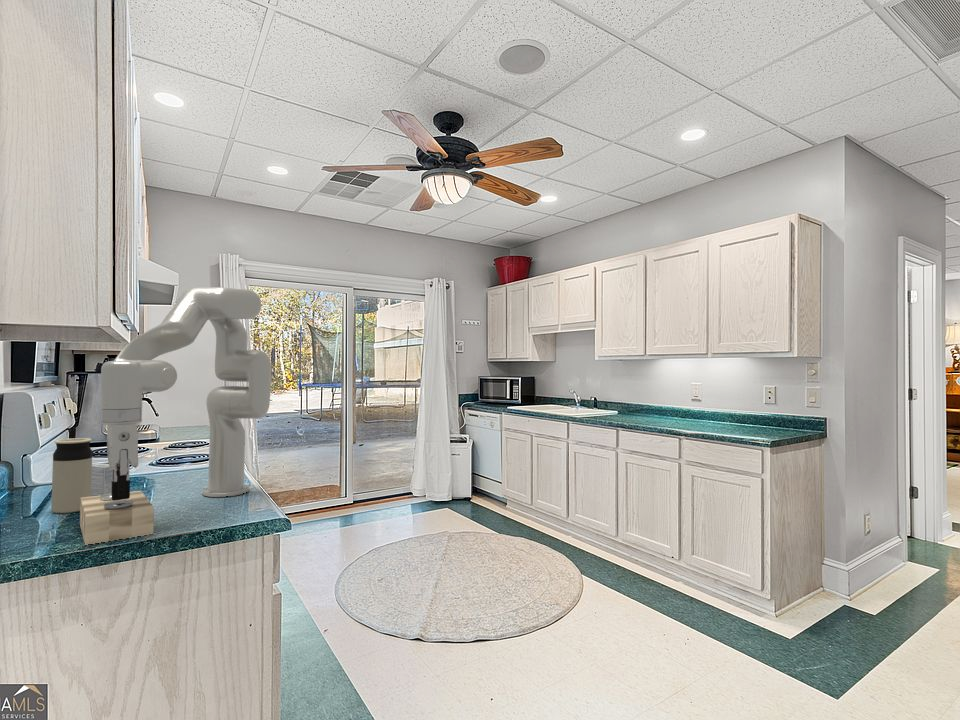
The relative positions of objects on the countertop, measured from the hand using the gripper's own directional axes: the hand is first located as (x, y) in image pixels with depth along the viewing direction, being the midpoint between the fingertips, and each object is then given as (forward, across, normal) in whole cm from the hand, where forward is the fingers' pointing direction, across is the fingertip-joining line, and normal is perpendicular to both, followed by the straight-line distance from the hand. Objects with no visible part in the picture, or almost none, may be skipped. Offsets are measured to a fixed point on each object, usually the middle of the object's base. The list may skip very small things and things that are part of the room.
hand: (120, 498), depth 115 cm
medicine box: (+9, +46, 0) cm, 46 cm away
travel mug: (+8, +30, +8) cm, 32 cm away
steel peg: (+8, +10, 0) cm, 12 cm away
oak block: (+8, +4, 0) cm, 9 cm away
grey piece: (+8, 0, 0) cm, 8 cm away
